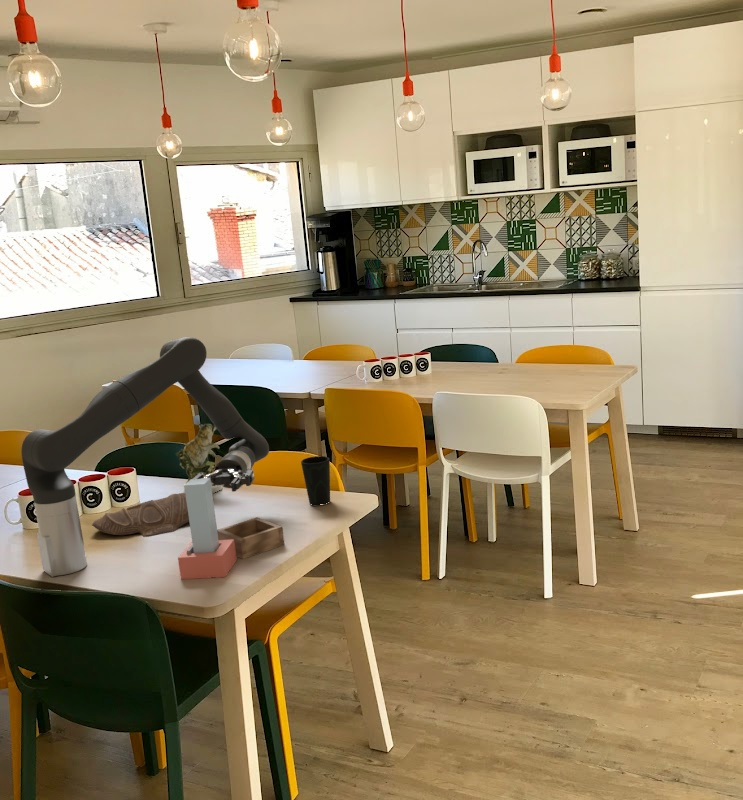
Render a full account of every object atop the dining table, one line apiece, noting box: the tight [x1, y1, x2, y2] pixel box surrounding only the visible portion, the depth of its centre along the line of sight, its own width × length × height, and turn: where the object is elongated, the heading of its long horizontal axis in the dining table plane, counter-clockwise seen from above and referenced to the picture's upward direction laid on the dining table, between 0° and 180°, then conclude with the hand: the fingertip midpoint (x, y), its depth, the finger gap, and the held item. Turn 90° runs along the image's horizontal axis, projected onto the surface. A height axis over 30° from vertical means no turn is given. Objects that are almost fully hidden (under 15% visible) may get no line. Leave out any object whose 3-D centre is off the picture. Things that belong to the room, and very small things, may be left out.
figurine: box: [175, 423, 223, 494], centre depth 267 cm, size 12×14×20 cm
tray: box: [217, 516, 285, 560], centre depth 216 cm, size 11×11×4 cm
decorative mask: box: [91, 492, 190, 538], centre depth 242 cm, size 23×7×30 cm
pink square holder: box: [177, 539, 238, 580], centre depth 204 cm, size 10×10×6 cm
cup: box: [300, 455, 331, 505], centre depth 245 cm, size 8×8×12 cm
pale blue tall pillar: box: [183, 478, 219, 553], centre depth 203 cm, size 4×4×20 cm
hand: (215, 488), depth 213 cm, fingers open, 8 cm apart
